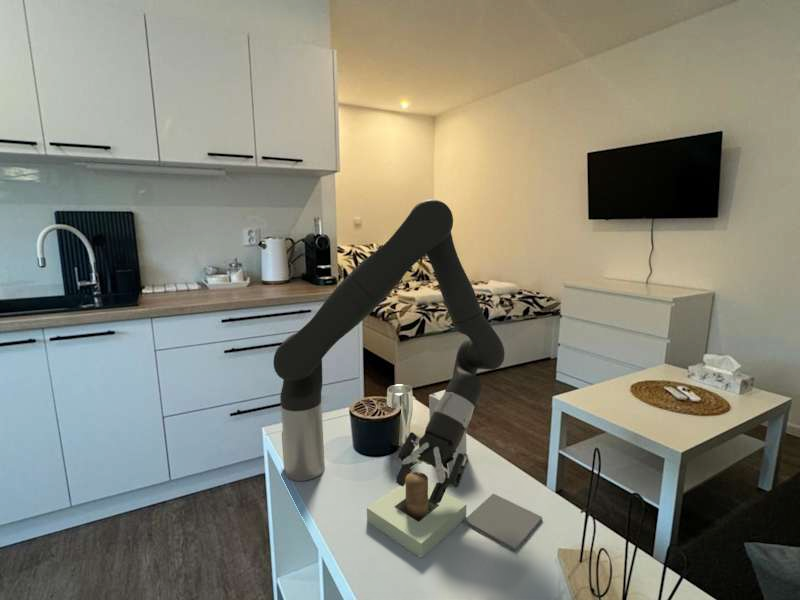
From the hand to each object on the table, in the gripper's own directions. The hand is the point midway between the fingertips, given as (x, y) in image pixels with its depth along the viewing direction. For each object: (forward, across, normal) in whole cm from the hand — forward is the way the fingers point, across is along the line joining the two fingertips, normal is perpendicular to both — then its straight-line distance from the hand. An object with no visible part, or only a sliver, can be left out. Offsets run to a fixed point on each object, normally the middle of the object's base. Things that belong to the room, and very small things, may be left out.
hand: (415, 493), depth 82 cm
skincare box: (-14, -11, +22) cm, 28 cm away
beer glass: (-10, -23, +19) cm, 31 cm away
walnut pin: (+4, 0, +4) cm, 6 cm away
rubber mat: (-4, +13, +12) cm, 18 cm away
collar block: (+4, 0, +4) cm, 6 cm away
